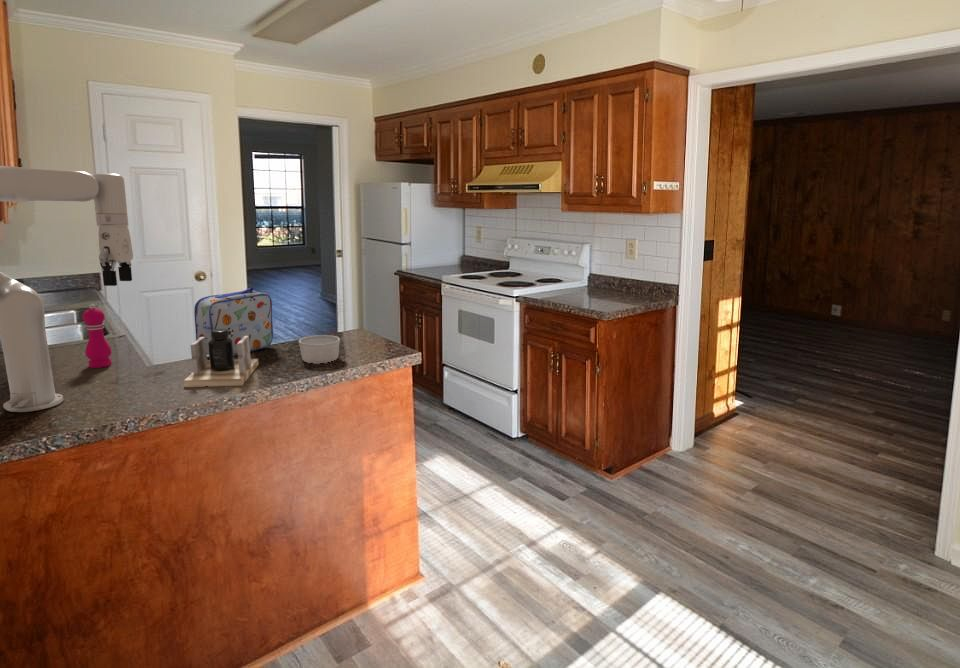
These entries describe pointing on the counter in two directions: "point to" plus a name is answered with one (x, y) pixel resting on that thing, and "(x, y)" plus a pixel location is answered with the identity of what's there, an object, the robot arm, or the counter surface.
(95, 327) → the pepper mill
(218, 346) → the supplement bottle
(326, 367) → the counter surface
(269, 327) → the lunch box
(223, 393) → the counter surface
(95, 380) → the counter surface
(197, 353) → the wooden stand
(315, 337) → the ramekin
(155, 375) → the counter surface
